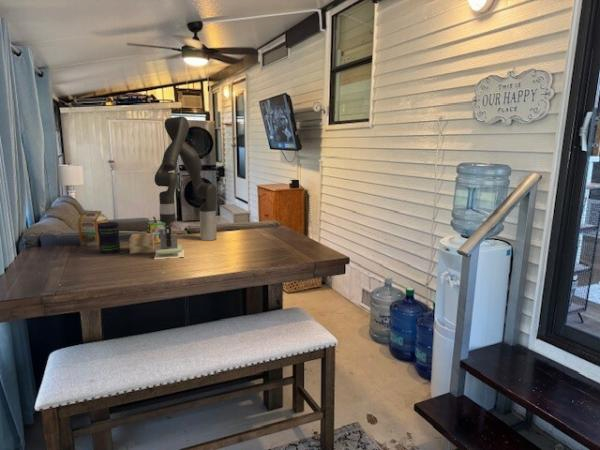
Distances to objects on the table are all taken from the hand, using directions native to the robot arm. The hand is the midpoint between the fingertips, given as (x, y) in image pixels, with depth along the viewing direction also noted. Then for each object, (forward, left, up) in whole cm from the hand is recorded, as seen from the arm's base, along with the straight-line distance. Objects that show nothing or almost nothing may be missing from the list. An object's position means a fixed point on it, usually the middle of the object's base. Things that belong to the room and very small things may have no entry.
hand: (169, 245), depth 203 cm
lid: (0, 0, -2) cm, 2 cm away
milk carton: (+41, -33, -5) cm, 53 cm away
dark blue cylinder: (+30, -13, -5) cm, 33 cm away
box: (+14, -12, -5) cm, 19 cm away
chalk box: (+8, -32, -5) cm, 33 cm away
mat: (0, 0, -5) cm, 5 cm away
